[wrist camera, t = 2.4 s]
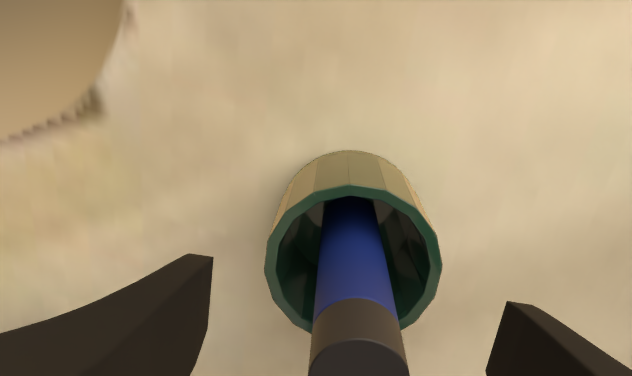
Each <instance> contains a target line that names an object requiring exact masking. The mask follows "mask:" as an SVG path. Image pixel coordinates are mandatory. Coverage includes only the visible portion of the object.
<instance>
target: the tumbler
mask: <svg viewBox="0 0 632 376" xmlns="http://www.w3.org/2000/svg"><path fill="white" fill-rule="evenodd" d="M346 196H355V197H361V198H363V199H365V200H366V201H367V202H369V203H370V204H371V205H372V207H373V208H374V210H375V212H376V216H377V220H378V225H379V230H380V235H381V240H382V244H383V249H384V254H385V259H386V264H387V268H388V273H389V278H390V283H391V288H392V293H393V297H394V302H395V307H396V312H397V317H398V321H399V326H400V331H401V330H403V329H404V328H406V327H408V326H409V325H411V324H413V323H414V322H415V321H416V320H417V319H418V318H419V317H420V315H421V314H422V313H423V311H424V310H425V309H426V308H427V306H428V305H429V304H430V303H431V301H432V300H433V299H434V297H435V295H436V291H437V287H438V283H439V279H440V275H441V271H442V260H441V255H440V250H439V244H438V239H437V235H436V233H435V231H434V229H433V227H432V225H431V223H430V221H429V219H428V217H427V214H426V212H425V210H424V208H423V206H422V204H421V202H420V200H419V198H418V196H417V194H416V192H415V191H414V189H413V188H412V186H411V185H410V183H409V181H408V180H407V178H406V177H405V176H404V175H403V173H402V172H401V171H400V170H399V169H398V168H396V167H395V166H394V165H393V164H391V163H390V162H388V161H387V160H385V159H383V158H381V157H379V156H377V155H374V154H371V153H367V152H362V151H352V150H350V151H338V152H333V153H330V154H326V155H323V156H321V157H319V158H317V159H315V160H313V161H312V162H310V163H309V164H307V165H306V166H305V167H304V168H302V169H301V170H300V171H299V172H298V173H297V175H296V176H295V177H294V178H293V180H292V181H291V183H290V185H289V186H288V188H287V190H286V192H285V194H284V196H283V198H282V201H281V204H280V206H279V209H278V212H277V215H276V218H275V221H274V224H273V226H272V229H271V232H270V235H269V238H268V241H267V248H266V257H265V265H264V273H265V276H266V279H267V282H268V286H269V289H270V292H271V295H272V298H273V300H274V302H275V303H276V304H277V305H278V307H279V308H280V309H281V310H282V311H283V312H284V314H285V315H286V316H287V317H288V318H289V319H290V321H291V322H292V323H293V324H294V325H296V326H298V327H300V328H301V329H303V330H305V331H307V332H309V333H311V334H312V326H313V316H314V305H315V294H316V283H317V272H318V261H319V250H320V239H321V228H322V217H323V213H324V211H325V209H326V207H327V206H328V205H329V204H330V203H331V202H332V201H333V200H335V199H337V198H342V197H346Z"/></svg>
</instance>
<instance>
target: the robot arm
mask: <svg viewBox="0 0 632 376" xmlns="http://www.w3.org/2000/svg"><path fill="white" fill-rule="evenodd" d="M212 269H213V257H209V256H203V255H196V254H186V255H184V256H182V257H180V258H178V259H177V260H175V261H173V262H171V263H169V264H168V265H166V266H164V267H162V268H160V269H159V270H157V271H155V272H153V273H151V274H150V275H148V276H146V277H144V278H142V279H140V280H139V281H137V282H135V283H133V284H131V285H129V286H127V287H125V288H122V289H120V290H118V291H116V292H114V293H112V294H110V295H108V296H106V297H104V298H102V299H100V300H97V301H95V302H93V303H90V304H88V305H86V306H83V307H81V308H78V309H76V310H73V311H70V312H67V313H65V314H62V315H59V316H57V317H54V318H51V319H48V320H45V321H41V322H38V323H35V324H31V325H28V326H25V327H21V328H18V329H14V330H11V331H8V332H4V333H1V334H0V376H190V374H191V372H192V370H193V368H194V366H195V364H196V361H197V358H198V355H199V353H200V350H201V347H202V344H203V341H204V338H205V335H206V332H207V328H208V316H209V304H210V292H211V280H212ZM485 371H486V375H487V376H632V370H631V369H629V368H628V367H626V366H625V365H623V364H622V363H620V362H618V361H617V360H615V359H614V358H612V357H611V356H609V355H608V354H606V353H605V352H604V351H602V350H601V349H599V348H598V347H596V346H595V345H593V344H592V343H590V342H589V341H587V340H586V339H585V338H583V337H582V336H580V335H579V334H577V333H576V332H574V331H573V330H571V329H570V328H569V327H567V326H566V325H564V324H563V323H561V322H560V321H558V320H557V319H555V318H554V317H552V316H551V315H549V314H547V313H546V312H544V311H542V310H541V309H539V308H537V307H535V306H533V305H530V304H523V303H516V302H510V301H507V302H506V306H505V309H504V312H503V315H502V319H501V322H500V325H499V328H498V332H497V335H496V338H495V341H494V344H493V348H492V351H491V354H490V357H489V361H488V364H487V367H486V370H485Z"/></svg>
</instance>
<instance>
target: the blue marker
mask: <svg viewBox="0 0 632 376" xmlns="http://www.w3.org/2000/svg"><path fill="white" fill-rule="evenodd" d="M308 376H410V375H409V369H408V365H407V360H406V355H405V350H404V345H403V341H402V336H401V331H400V326H399V321H398V317H397V312H396V307H395V302H394V297H393V293H392V288H391V283H390V278H389V273H388V268H387V264H386V259H385V254H384V249H383V244H382V240H381V235H380V230H379V225H378V220H377V216H376V212H375V210H374V208H373V207H372V205H371V204H370V203H369V202H367V201H366V200H365V199H363V198H361V197H355V196H346V197H342V198H337V199H335V200H333V201H332V202H331V203H330V204H329V205H328V206H327V207H326V209H325V211H324V213H323V217H322V228H321V239H320V250H319V261H318V272H317V283H316V294H315V305H314V316H313V326H312V337H311V348H310V359H309V370H308Z"/></svg>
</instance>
